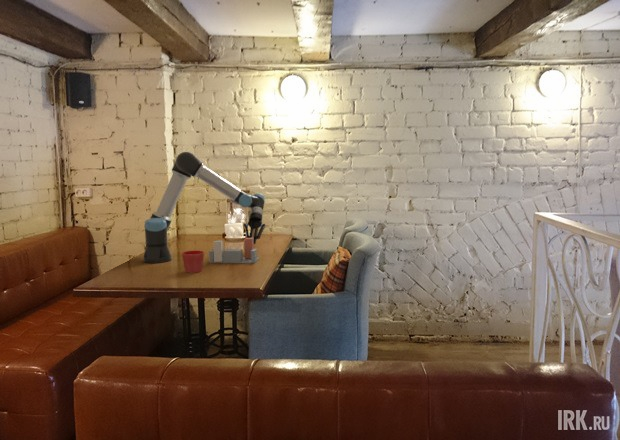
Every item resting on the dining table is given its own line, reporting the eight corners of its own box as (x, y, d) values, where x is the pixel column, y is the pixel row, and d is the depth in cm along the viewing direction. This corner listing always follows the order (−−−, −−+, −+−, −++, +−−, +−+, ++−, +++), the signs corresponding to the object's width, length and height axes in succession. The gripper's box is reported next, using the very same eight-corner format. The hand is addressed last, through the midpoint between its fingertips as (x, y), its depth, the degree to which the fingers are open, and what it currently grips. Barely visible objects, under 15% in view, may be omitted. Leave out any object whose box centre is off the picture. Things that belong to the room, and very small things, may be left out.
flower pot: (199, 273, 247) (198, 254, 246) (178, 273, 249) (178, 253, 248) (208, 269, 258) (207, 250, 256) (188, 268, 260) (187, 250, 259)
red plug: (244, 258, 280) (244, 239, 279) (246, 257, 284) (245, 237, 283) (252, 258, 280) (251, 239, 278) (253, 257, 284) (253, 237, 283)
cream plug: (214, 261, 273) (213, 241, 271) (216, 260, 277) (215, 240, 275) (221, 261, 272) (220, 241, 271) (223, 260, 276) (223, 240, 275)
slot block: (209, 263, 274) (209, 251, 273) (215, 258, 286) (215, 247, 285) (254, 263, 272) (254, 250, 271) (259, 258, 284) (258, 247, 283)
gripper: (244, 212, 300) (239, 244, 285) (266, 211, 299) (261, 244, 284) (246, 219, 305) (241, 251, 291) (267, 219, 304) (263, 251, 290)
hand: (251, 248), depth 287 cm, fingers closed
